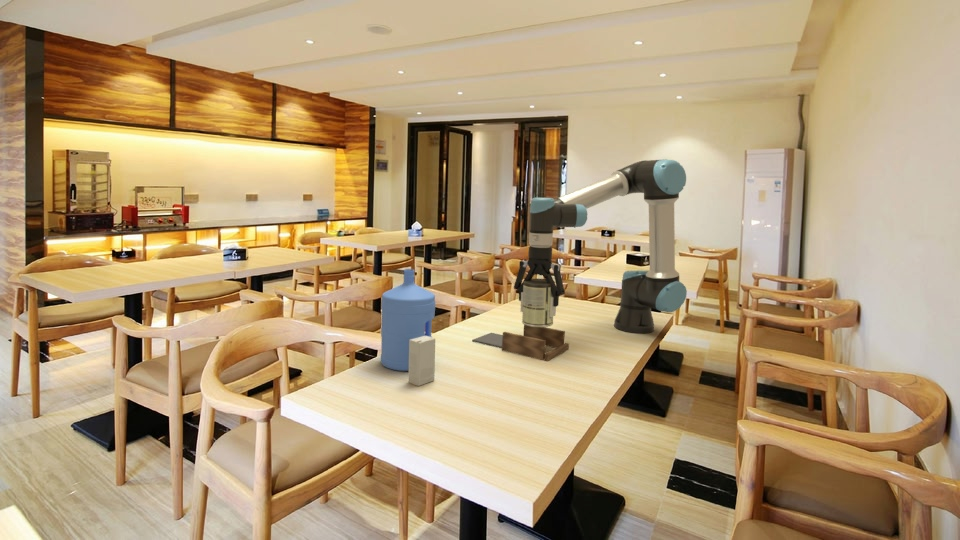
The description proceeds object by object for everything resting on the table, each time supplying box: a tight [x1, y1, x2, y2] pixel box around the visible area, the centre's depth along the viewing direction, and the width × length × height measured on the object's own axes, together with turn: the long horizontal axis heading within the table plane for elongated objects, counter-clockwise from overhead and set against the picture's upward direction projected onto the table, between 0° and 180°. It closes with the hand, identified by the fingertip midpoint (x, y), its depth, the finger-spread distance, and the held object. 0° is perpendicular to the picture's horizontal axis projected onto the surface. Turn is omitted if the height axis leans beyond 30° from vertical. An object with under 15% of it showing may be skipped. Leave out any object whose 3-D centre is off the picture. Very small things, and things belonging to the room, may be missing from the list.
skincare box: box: [407, 336, 436, 387], centre depth 140 cm, size 6×4×12 cm
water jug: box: [380, 268, 436, 372], centre depth 153 cm, size 16×16×28 cm
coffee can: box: [521, 278, 556, 328], centre depth 171 cm, size 10×10×14 cm
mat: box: [472, 332, 503, 349], centre depth 181 cm, size 12×12×1 cm
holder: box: [501, 324, 570, 362], centre depth 172 cm, size 17×15×6 cm
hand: (537, 313), depth 171 cm, fingers closed on coffee can, 10 cm apart
